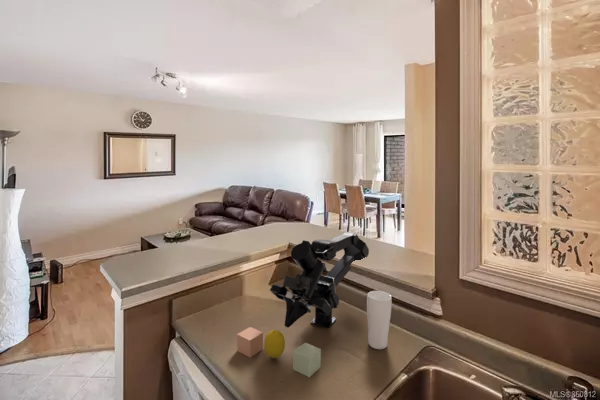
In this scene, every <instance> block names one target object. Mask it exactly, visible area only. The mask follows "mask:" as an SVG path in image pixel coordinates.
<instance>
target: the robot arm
mask: <svg viewBox="0 0 600 400" xmlns="http://www.w3.org/2000/svg"><path fill="white" fill-rule="evenodd" d="M342 250H343V252H344V254H343V256H342V257H341V258H340V259H339V260H338V261H337V262H336V263H335V264H334V266H332V267H331V269H330V270H329V271H328V272H327V266H326V263H325V262H322V261H327V262H330V261H332V260H333V259H334V258H336V256H337V253H339V252H340V251H342ZM369 254H370V249H369V247H368V245H367V243H366V242H364V241H363V240H362V239H361V238H360V237H359V235H358V234H356V233H352V232H348V231H347V232H343V233H341V234H340V235H337V236H334V237H332V238H330V239H315V240H313V241H311V243H310V241H309V240H302V242H300V243H298V244H296V245H294V247H292V248H291V252H290V256H291V259H292V260H293V261H294V262H295V263H296V264H297V265H298V267H299V268H300V269H302V270H301V272H300V273H297V274H296V275H295V276H290V275H286V274H285V275H284V279H283V283H282V284H278V283H274V284H272V285H271V287H270V288H269V291H270V292H271V294H273V295H274V296H275V298H277V299H278V300H281V301H284V302H285V304H286V305H285V306H286V308H285V309H286V311H285V312H286V313H285V319H284V327H285V328H287V329H288V328H290V327H291V326H293V324H294V323H296V322H297V321H298V320H299V319H301V318H302V317H303V316H305V315H306V314H307V313H312V312H311V308H312V307H313V308H314V317H313V319H312V320H310V324H312V325H317V326H320V327H324V328H327V329H328V328H330V327H331V326H332V325H333V324H334V323H335V321H336V320H337V318H336V317H334V316H333V309H337V308H338V306H339V303H340V297H339V295H337V290H336V289H337V286H338V285H339V284H340V283H341V282H342V280H343V279H344V278H345V276H347V274H348V273H349V272H350V270H351V269H352V268H351V267H350V265H351V263H352V262H353V261H355V260H361V259H363V258H365V257H366V258H367V257H368V256H369ZM323 273H326V275H323ZM289 290H290V291H289Z"/></svg>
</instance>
